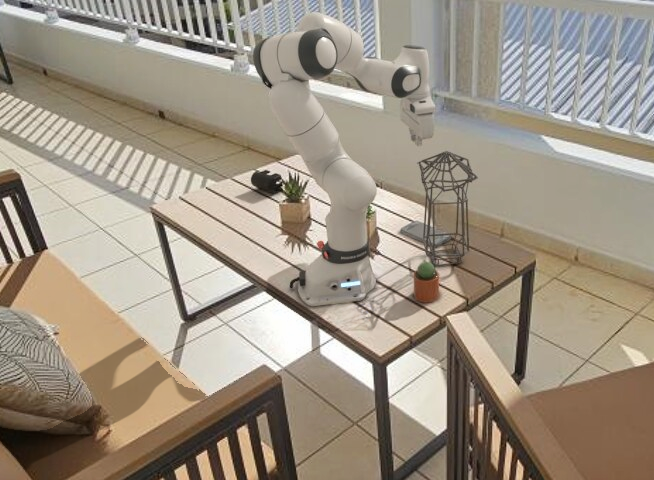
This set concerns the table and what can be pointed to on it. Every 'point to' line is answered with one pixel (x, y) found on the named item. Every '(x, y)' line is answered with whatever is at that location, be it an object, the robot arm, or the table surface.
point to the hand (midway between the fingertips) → (416, 143)
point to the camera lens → (267, 181)
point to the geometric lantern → (469, 179)
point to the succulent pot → (426, 283)
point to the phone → (417, 231)
